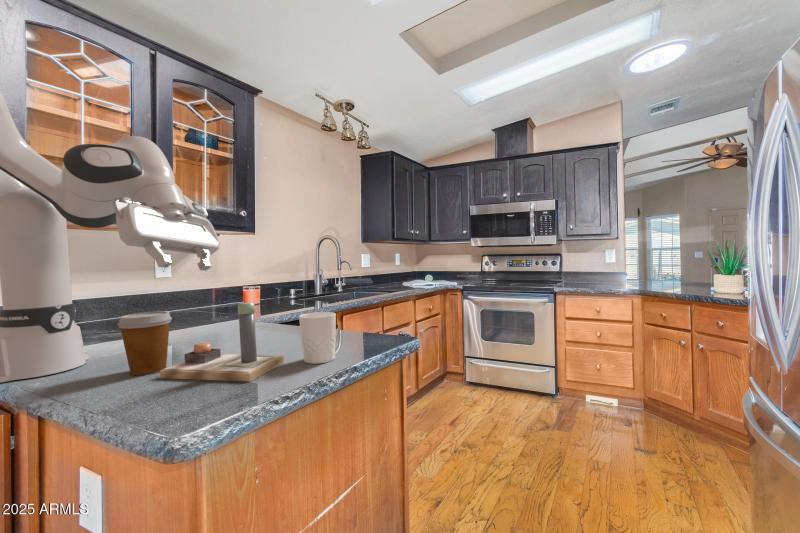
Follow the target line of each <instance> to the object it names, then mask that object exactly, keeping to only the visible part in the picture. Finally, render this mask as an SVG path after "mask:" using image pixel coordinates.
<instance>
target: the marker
mask: <svg viewBox="0 0 800 533" xmlns="http://www.w3.org/2000/svg"><path fill="white" fill-rule="evenodd" d="M255 306H256V304H255V301H254V302H253V301H250V302H249V301H248V302H246V301H245V302H240V303H237V315H238V324H239V325H238V326H239V328H238V329H239V344H240V346H239V347H240V355H241V362H242V363H252V362H255V361H257V355H258V354H257V353H258V352H257V338H256V317H255V312H256V310H255V309H256V307H255Z"/></svg>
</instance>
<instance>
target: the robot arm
mask: <svg viewBox="0 0 800 533" xmlns="http://www.w3.org/2000/svg"><path fill="white" fill-rule="evenodd" d="M129 199H130V200H129ZM208 216H209V214H208V210H206V209H205V208H204V207H203V206H202V205H199V204H197V203H196V202H194V201H193V200H192V199H190V198H189V197H188V196H186V195H185V194H183V192H182V190H181V188H180V187H179V186H178V184H177V183H176V181H175V174H174V171H173V169H172V166H171V165H170V162H169V161H168V158H167V157H166V156H165V154H164V152H163V151H162V149H161V148H160V147H159V146H158V145H157V144H156V143H155V142H154V141H152V140H150V139H148V138H146V137H144V136H140V135H139V136H138V135H129V136H128V135H127V136H124V137H121V138H120V139H118V140H117V141H115V142H112V143H108V144H99V143H83V144H78V145H75V146H72V147H70V148H69V149H68V150H67V151H66V152H65V153H64V155H63V157H62V167H61V168H60V167H58V166H57V165H55V164H54V163H52V162H51V161H49V160H48V159H47V158H45V157H44V156H42V155H41V154H40V153H38V152H37V151H35V150H34V149H33V148H32V147H31V146H30V145H29V144H28V143H27V142H26V141H25V139H24V138H23V136H22V135H21V133H20V130H18V128H17V125H16V124H15V121H14V119H13V117H12V115H11V112H10V109H9V107H8V103H7V100H6V98H5V96H4V94H3V92H2V90H1V89H0V290H1V291H0V292H1V301H2V304H1V305H2V309H0V384H1V383H6V382H11V381H17V380H24V379H32V378H38V377H39V378H40V377H44V376H48V375H53V374H58V373H62V372H65V371H69V370H72V369H75V368H78V367H81V366H83V365H84V364H86V363H87V360H88V359H90V354H89V353H85V352H86V351H85V348H84V342H83V338H82V337H83V336H82V332H81V327H80V326H79V325H78V324H76V322H75V319H76V318H77V314H76V313H77V309H76V305H75V303H73V294H72V281H71V280H72V279H71V269H70V268H71V266H70V254H69V242H68V240H69V239H68V229H67V228H68V227H67V226H68V224H67V221H68V222H70V223H71V224H74V225H77V226H79V227H83V228H88V229H89V228H91V229H96V228H97V229H98V228H99V229H100V228H105V227H109V226H111V225H113V224H115V223H116V227H117V232H118V235H119V238H120V241H122V242H123V243H124V244H125V245H126V246H130V247H136V248H137V247H138V248H144V250H145V252H146V253H147V254H149V256H150V257H151V258H152V259H154V260H155V262H156V266H157V267H158V268H168V267H170V266H171V265H172V260H171V257H170V255H167V254H166V253H164V251H168V252H169V251H170V252H176V253H177V252H178V253H183V254H193V255H196V257H197V258H199V262H198V263H197V262H196V265H197V266H198V269H199V270H200V271H205V272H207V271H209V270H210V269H211V268H212V264H211V262H210V257H211V255H212V254H214V253H216V252H217V251H218V250H220V247H221V242H220V239H219V237H218V235H217V232H216V230H215V228H214V226H213V224H212V223H211V221H210V220H209V219H208Z"/></svg>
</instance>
